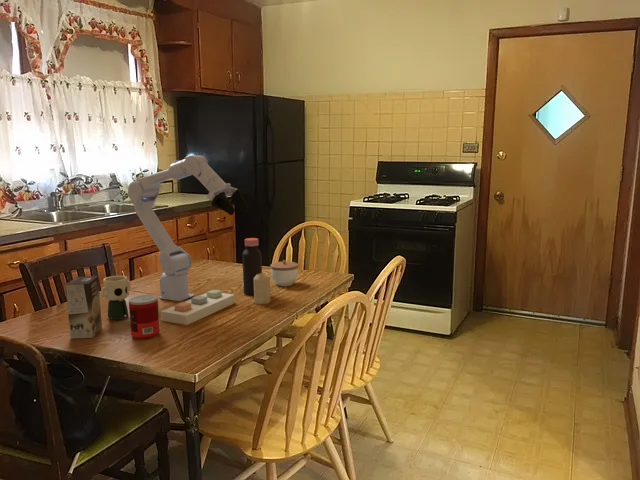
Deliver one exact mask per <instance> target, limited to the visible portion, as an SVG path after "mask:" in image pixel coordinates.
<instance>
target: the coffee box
mask: <svg viewBox="0 0 640 480" xmlns="http://www.w3.org/2000/svg"><path fill="white" fill-rule="evenodd" d="M99 285H100V284H99V275H96V276H95V275H88V276H87V275H85V276H77V277H75V278H73V279H72V280H70V281H68V282H67V283H65V290H66V301H67V315H68V327H69V338H70V339H91V338H94V337H95V336H96V334H98V332H99V331H100V330H102V328H103V323H102V310H101V299H100V298H101V294H100V286H99Z"/></svg>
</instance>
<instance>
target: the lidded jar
mask: <svg viewBox="0 0 640 480" xmlns="http://www.w3.org/2000/svg"><path fill="white" fill-rule="evenodd" d="M269 266H270V275H271V278H272V280H273V281H274V283H275V284H276V285H277V286H280V287H289V286H293V285H294V283H295V281H296V280H297V278H298V275H299V264H298V263H297V262H295V261H287V260H286V259H283V260H282V261H277V262H272V263H271V264H270V265H269Z"/></svg>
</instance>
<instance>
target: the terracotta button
mask: <svg viewBox="0 0 640 480" xmlns="http://www.w3.org/2000/svg"><path fill="white" fill-rule="evenodd" d="M173 306H175V311H179V312H186V311H188V310H191V303H186V302H185V301H180V302H179V303H176V304H174V305H173Z"/></svg>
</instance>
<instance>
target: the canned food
mask: <svg viewBox="0 0 640 480" xmlns="http://www.w3.org/2000/svg"><path fill="white" fill-rule="evenodd" d="M128 313H129V323H130V325H129V326H130V333H131V338H132V339H134V340H140V341H142V340H143V341H144V340H151V339H153V338H156V337H158V336H159V335H160V331H161V330H160V316H159V315H160V313H159V301H158V296H157V295H153V294H142V295H136V296H133V297H131V298H129V299H128Z"/></svg>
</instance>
